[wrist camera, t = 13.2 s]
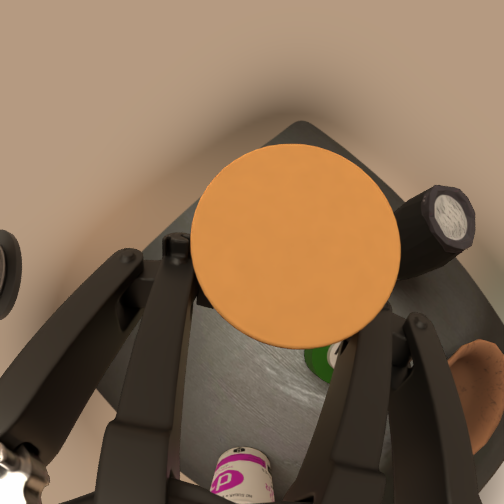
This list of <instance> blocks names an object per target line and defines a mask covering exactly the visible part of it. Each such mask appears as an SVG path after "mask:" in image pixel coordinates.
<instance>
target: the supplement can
mask: <svg viewBox="0 0 504 504" xmlns="http://www.w3.org/2000/svg"><path fill="white" fill-rule="evenodd" d="M210 492H213V493H215V494H217V495H219V496H221V497H223V498H225V499H228V500H230V501H232V502H235V503H238V504H255V503H267V502H275V500H274V492H273V484H272V476H271V468H270V462H269V460H268V459H267V457H266V456H265V455H264V454H263V453H261V452H260V451H259V450H256V449H253V448H249V447H238V448H232V449H230V450H228V451H226V452H224V453H223V454H222V455H221V457H220V458H219V460H218V463H217V467H216V470H215V474H214V477H213V481H212V485H211V488H210Z"/></svg>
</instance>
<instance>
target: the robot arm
mask: <svg viewBox="0 0 504 504" xmlns="http://www.w3.org/2000/svg"><path fill="white" fill-rule="evenodd" d="M190 236H191V234H187V233H171V234H168V235H166V236H165V237H164V238H163V239H162V249H163V257H162V260H156V261H154V260H143V253H142V252H141V251H139V250H137V249H132V248H125V249H121V250H118V251H117V252H115V253H114V254H113V255H112V256H111V257H110V258H108V259H107V260H106V261H105V262H104V263H103V264H102V265H101V266H100V267H99V268H98V269H97V270H96V271H95V272H94V273H93V274H92V275H91V276H90V277H89V278H88V279H87V280H86V281H85V282H84V283H82V285H80V287H79V288H78V289H77V290H76V291H75V292H74V293H73V294H72V295H71V296H70V297H69V298H68V299H67V300H66V301H65V302H64V303H63V304H62V305H61V306H60V307H59V308H58V309H57V310H56V312H55V313H54V314H53V315H52V316H51V317H50V318H49V319H48V320H47V321H46V323H45V324H44V325H43V326H42V327H41V328H40V329H39V331H38V332H37V333H36V334H35V335H34V336H33V337H32V339H31V340H30V341H29V342H28V343H27V345H26V346H25V347H24V348H23V349H22V351H21V352H20V353H19V354H18V356H17V357H16V358H15V359H14V361H13V362H12V363H11V365H10V366H9V367H8V368H7V370H6V371H5V372H4V374H3V375H2V376H1V378H0V504H42V502H41V493H42V491H43V489H44V487H46V486H48V485H49V483H50V477H49V475H48V472H47V470H46V466H47V465H48V464H49V463H50V462H51V461H52V460H53V459H54V457H55V456H56V455H57V454H58V452H59V451H60V449H61V447H62V446H63V444H64V442H65V441H66V439H67V437H68V435H69V434H70V432H71V430H72V428H73V426H74V425H75V423H76V421H77V419H78V418H79V416H80V414H81V412H82V411H83V409H84V407H85V405H86V404H87V402H88V400H89V398H90V397H91V395H92V394H93V392H94V390H95V389H96V387H97V385H98V384H99V382H100V380H101V379H102V377H103V376H104V374H105V372H106V371H107V369H108V368H109V366H110V364H111V363H112V361H113V360H114V358H115V356H116V355H117V353H118V352H119V350H120V349H121V347H122V346H123V344H124V343H125V341H126V340H127V338H128V336H129V335H130V333H131V332H132V330H133V329H134V327H135V326H136V324H137V323H138V321H139V320H140V319H141V317H142V319H141V322H140V326H139V329H138V332H137V336H136V339H135V343H134V346H133V350H132V353H131V357H130V361H129V364H128V368H127V372H126V376H125V380H124V384H123V388H122V392H121V397H120V401H119V405H118V410H117V414H116V417H115V419H114V420H112V421H111V422H109V424H108V425H107V427H106V430H105V433H104V437H103V442H102V448H101V454H100V459H99V465H98V472H97V479H96V486H95V491H94V492H92V493H89V494H86V495H84V496H81V497H78V498H75V499H72V500H69V501H66V502H63V503H60V504H238V503H235V502H232V501H230V500H228V499H225V498H223V497H221V496H219V495H217V494H215V493H213V492H210V491H208V490H206V489H204V488H202V487H200V486H198V485H194V484H191V483H187V482H184V481H181V480H180V461H179V455H180V436H181V421H182V408H183V396H184V385H185V374H186V365H187V355H188V346H189V338H190V330H191V322H192V314H193V302H194V300H195V298H196V296H197V305H201V306H204V307H208V308H212V309H213V308H214V307H213V306H212V305H211V303H210V302H209V300H208V299H207V297H206V296H205V294H204V292H203V290H202V288H201V286H200V284H199V282H198V280H197V277H196V273H195V270H194V267H193V262H192V257H191V244H190ZM6 278H7V256H6V252H5V250H4V248H3V247H2V246H1V245H0V296H1V295H2V292H3V290H4V287H5V283H6ZM337 353H338V355H337ZM334 354H335V355H337V359H336V363H335V367H334V371H333V374H332V378H331V381H330V385H329V388H328V392H327V395H326V398H325V402H324V405H323V408H322V411H321V414H320V417H319V420H318V423H317V426H316V429H315V432H314V435H313V437H312V440H311V443H310V446H309V448H308V451H307V454H306V456H305V459H304V461H303V464H302V466H301V469H300V471H299V474H298V476H297V478H296V480H295V482H294V483H293V485H292V486H291V487H290V489H289V490H288V492H287V493H286V495H285V497H284V499H283V501H277V502H267V503H255V504H381V503H382V499H383V495H384V491H385V485H386V478H385V475H384V474H383V473H382V472H380V471H379V462H380V457H381V452H382V446H383V441H384V434H385V428H386V421H387V413H388V415H389V424H390V433H391V444H392V457H393V477H394V504H482V502H481V500H480V497H479V494H478V485H477V477H476V469H475V463H474V457H473V451H472V446H471V441H470V436H469V432H468V427H467V423H466V419H465V415H464V412H463V408H462V404H461V401H460V397H459V394H458V391H457V388H456V385H455V381H454V378H453V375H452V373H451V370H450V367H449V364H448V361H447V358H446V356H445V353H444V351H443V348H442V345H441V343H440V340H439V338H438V335H437V333H436V331H435V328H434V326H433V324H432V322H431V321H430V320H429V319H428V318H427V317H426V316H425V315H423V314H421V313H418V312H412V313H410V314H409V316H408V318H407V319H405V318H403V317H400V316H398V315H396V314H394V313H392V307H391V305H390V303H389V302H388V301H387V302H386V303H385V305H384V307H383V308H382V309H381V311H380V312H379V313H378V314H377V315H376V317H375V318H374V319H373V320H372V321H371V322H370V323H369V324H368V325H366V326H365V327H364V328H363V329H362V330H360V331H359V332H357V333H356V334H354V335H353V336H351V337H349V338H347V339H345V340H343V341H341V343H340V345H339V347H338V348H337V350H336V352H335V353H334ZM412 360H413V367H411V365H410V362H411V361H412Z"/></svg>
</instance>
